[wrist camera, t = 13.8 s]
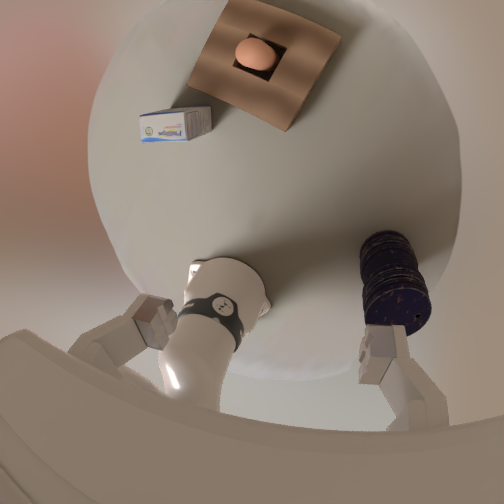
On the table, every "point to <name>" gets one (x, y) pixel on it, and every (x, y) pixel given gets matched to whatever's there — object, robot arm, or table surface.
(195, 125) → the medicine box
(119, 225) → the table surface
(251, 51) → the peg
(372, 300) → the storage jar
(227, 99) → the socket block
